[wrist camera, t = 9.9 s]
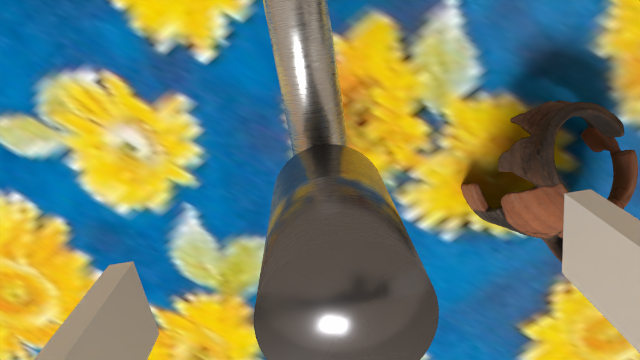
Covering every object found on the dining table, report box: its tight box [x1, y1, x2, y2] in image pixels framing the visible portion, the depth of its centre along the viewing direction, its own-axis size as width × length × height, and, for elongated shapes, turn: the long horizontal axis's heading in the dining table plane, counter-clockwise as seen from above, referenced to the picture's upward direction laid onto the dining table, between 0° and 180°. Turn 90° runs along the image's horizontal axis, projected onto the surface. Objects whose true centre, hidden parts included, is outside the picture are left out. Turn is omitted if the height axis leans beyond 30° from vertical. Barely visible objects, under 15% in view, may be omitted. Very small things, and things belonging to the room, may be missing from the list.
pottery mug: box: [461, 100, 638, 262], centre depth 31 cm, size 12×9×8 cm
